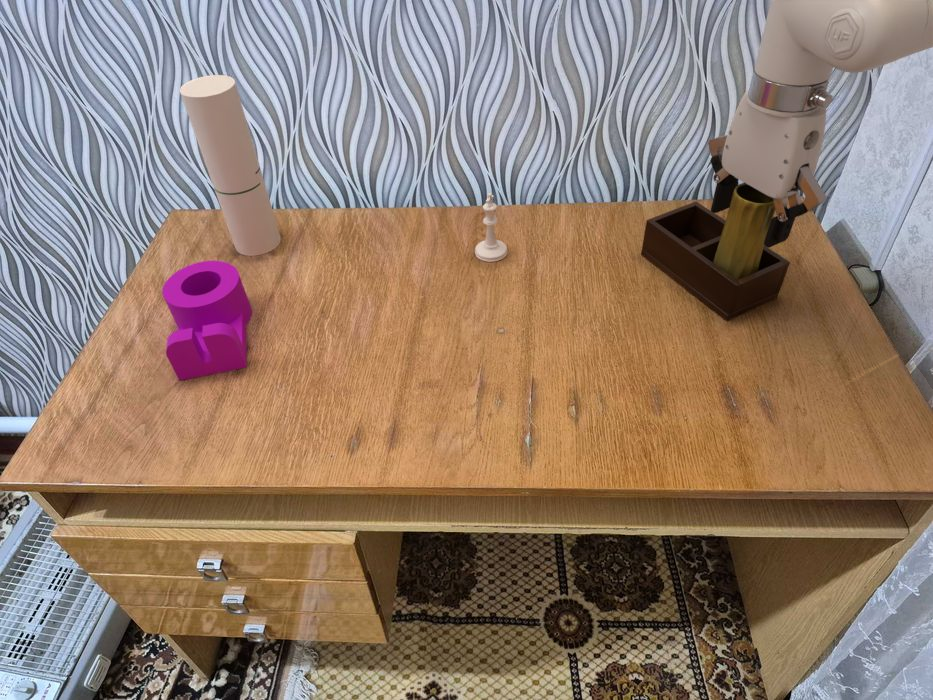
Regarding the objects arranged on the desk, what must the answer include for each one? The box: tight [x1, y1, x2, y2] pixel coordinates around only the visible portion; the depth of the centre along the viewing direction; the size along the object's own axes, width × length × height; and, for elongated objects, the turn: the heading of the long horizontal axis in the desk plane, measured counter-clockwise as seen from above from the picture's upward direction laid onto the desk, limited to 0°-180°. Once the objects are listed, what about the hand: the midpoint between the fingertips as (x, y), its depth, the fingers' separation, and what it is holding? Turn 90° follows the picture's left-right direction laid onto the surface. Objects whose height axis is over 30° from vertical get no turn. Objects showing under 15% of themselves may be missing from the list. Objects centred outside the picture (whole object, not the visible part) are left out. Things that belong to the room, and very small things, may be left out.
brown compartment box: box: [640, 201, 791, 322], centre depth 91 cm, size 9×17×6 cm, turn 28°
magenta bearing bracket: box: [161, 260, 253, 381], centre depth 88 cm, size 16×10×6 cm, turn 14°
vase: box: [713, 182, 776, 280], centre depth 85 cm, size 6×6×14 cm
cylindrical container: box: [179, 74, 282, 257], centre depth 96 cm, size 7×7×25 cm
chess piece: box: [474, 192, 509, 263], centre depth 96 cm, size 5×5×10 cm
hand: (747, 225), depth 83 cm, fingers open, 8 cm apart
